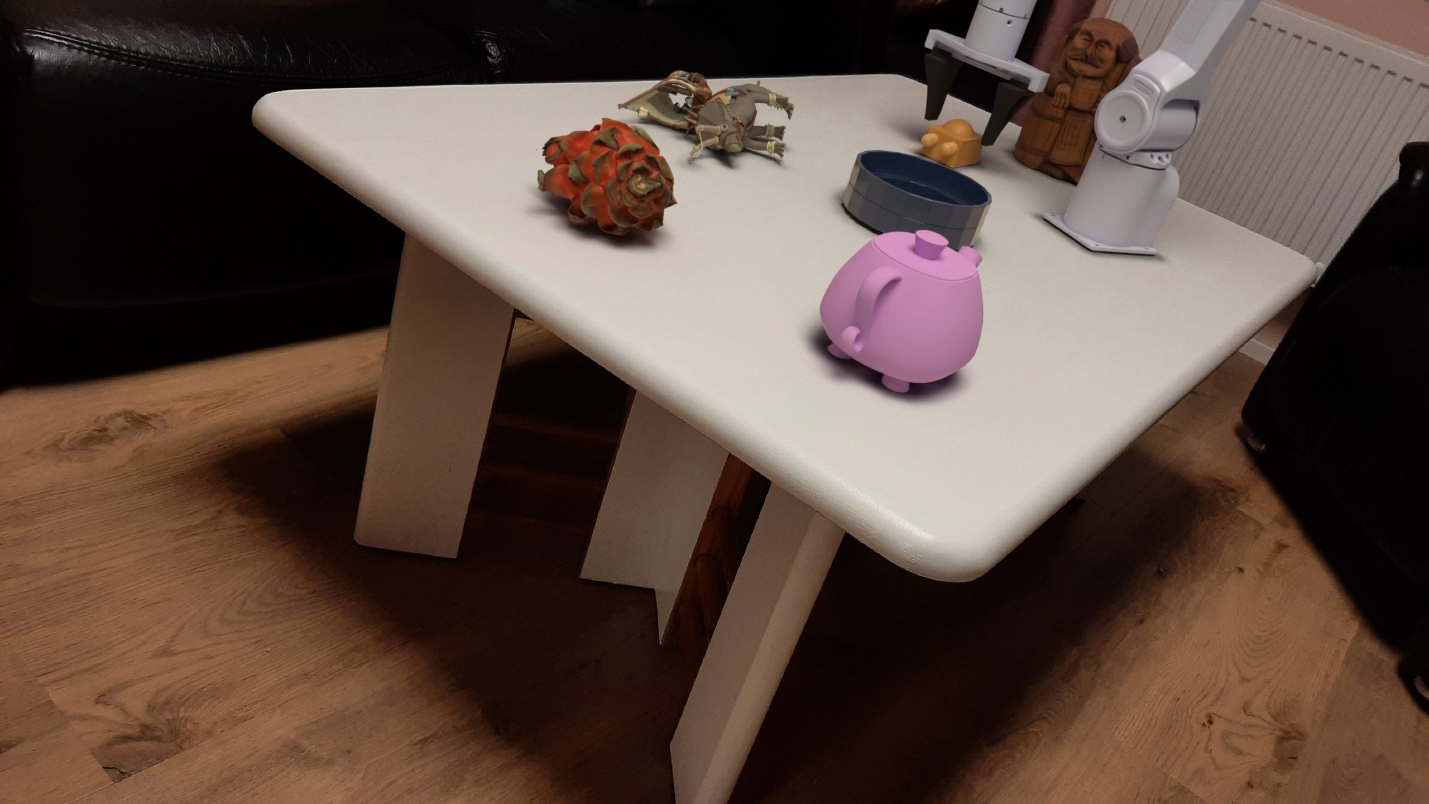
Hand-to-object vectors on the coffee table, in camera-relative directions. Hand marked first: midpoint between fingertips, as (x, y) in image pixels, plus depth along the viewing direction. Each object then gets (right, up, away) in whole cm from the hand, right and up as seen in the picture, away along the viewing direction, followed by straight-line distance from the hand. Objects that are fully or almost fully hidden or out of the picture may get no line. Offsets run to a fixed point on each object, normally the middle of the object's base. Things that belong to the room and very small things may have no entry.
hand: (958, 131), depth 119 cm
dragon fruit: (-37, -17, -40) cm, 57 cm away
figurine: (-29, -5, -15) cm, 33 cm away
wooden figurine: (+13, -3, +9) cm, 16 cm away
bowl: (-10, -14, -22) cm, 28 cm away
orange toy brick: (-1, -3, +2) cm, 3 cm away
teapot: (-16, -28, -47) cm, 57 cm away
